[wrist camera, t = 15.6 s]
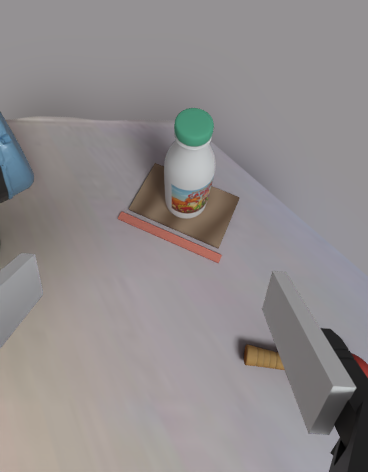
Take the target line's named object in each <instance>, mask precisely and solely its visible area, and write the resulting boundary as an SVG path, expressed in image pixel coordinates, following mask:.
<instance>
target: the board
mask: <svg viewBox="0 0 368 472" xmlns="http://www.w3.org/2000/svg"><path fill="white" fill-rule="evenodd" d="M238 200H239V197H237V196H234V195H232V194H229V193H227V192H225V191H222V190H220V189H217V188H215V187H212V186H211V189H210V193H209V196H208V200H207V203H206V206H205V208H204V210H203V211H202V213H200V214H199V215H198V216H196V217H193V218H188V219H185V218H180V217H177V216H175V215H174V214H172V213H171V212H170V211H169V209H168V208H167V205H166V200H165V184H164V167H163V166H161V165H158V164H156V163H155V164H154V166H153V168H152V169H151V171H150V173H149V175H148V176H147V178H146V180H145V181H144V183H143V185H142V187H141V188H140V190H139V192H138V194H137V195H136V197H135V199H134V201H133V202H132V204H131V206H130V207H129V210H130V211H133V212H135V213H137V214H140V215H142V216H144V217H147V218H149V219H151V220H153V221H156V222H158V223H160V224H163V225H165V226H167V227H170V228H172V229H174V230H176V231H179V232H181V233H183V234H186V235H188V236H190V237H193V238H195V239H197V240H200V241H202V242H204V243H206V244H209V245H211V246H213V247H216V248H219V246H220V244H221V241H222V239H223V236H224V234H225V232H226V229H227V227H228V224H229V222H230V220H231V217H232V215H233V212H234V210H235V208H236V205H237V203H238Z"/></svg>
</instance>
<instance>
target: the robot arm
mask: <svg viewBox="0 0 368 472" xmlns="http://www.w3.org/2000/svg"><path fill="white" fill-rule="evenodd" d="M33 181H34V174H33V171H32V169H31V167H30V165H29V163H28V160H27V159H26V157H25V155H24V153H23V151H22V149H21V147H20V145H19V143H18V142H17V140H16V138H15V136H14V134H13V133H12V131H11V129H10V127H9V126H8V124H7V122H6V120H5V119H4V117H3V116H2V114H1V112H0V203H1V202H4V201H6V200H8V199H12V198H13V196H15V195H16V194H18V193H20V192H22V191H24V190H25V189H27V188H29V187H30V186H31V185H32V183H33ZM42 295H43V290H42V285H41V280H40V275H39V271H38V266H37V261H36V256H35V254H28V253H20V254H19V255H18V256H17V257H16V258H14V259H13V260H12V261H11V262H10V263H9V264H7V265H6V266H5V267H4V268H3V269H1V270H0V348H1V347H2V346H3V344H4V343H5V342H6V341H7V339H8V338H9V337H10V336H11V334H12V333H13V332H14V331H15V329H16V328H17V327H18V326H19V324H20V323H21V322H22V320H23V319H24V318H25V317H26V315H27V314H28V313H29V312H30V310H31V309H32V308H33V307H34V305H35V304H36V303H37V302H38V300H39V299H40V298H41V297H42ZM262 310H263V313H264V316H265V318H266V321H267V324H268V326H269V329H270V332H271V334H272V337H273V340H274V342H275V345H276V348H277V350H278V353H279V356H280V358H281V361H282V364H283V366H284V369H285V372H286V374H287V377H288V380H289V382H290V385H291V388H292V390H293V393H294V396H295V398H296V401H297V404H298V406H299V409H300V412H301V414H302V417H303V420H304V422H305V425H306V428H307V430H308V433H309V434H323V435H329V434H330V432H331V431H332V429H333V427H334V425H335V427H336V430H337V432H338V434H339V436H340V438H339V440H338V442H337V443H336V445H335V446H334V448H333V450H332V451H331V454H332V455H333V459H332V463H331V466H330V470H329V472H368V378H367V376H366V375H365V373H364V372H363V370H362V369H361V367H360V366H359V364H358V363H357V361H356V360H354V357H353V355H352V354H351V352H350V351H348V348H347V346H346V345H345V343H344V342H343V340H342V339H341V338H340V337H339V336H338V335H337V334H336V333H334V332H333V331H332V330H331V329H323V328H320V327H319V325H318V324H317V322H316V320H315V319H314V317H313V315H312V314H311V312H310V311H309V309H308V307H307V306H306V304H305V302H304V301H303V299H302V297H301V296H300V294H299V293H298V291H297V289H296V288H295V286H294V284H293V283H292V281H291V279H290V278H289V276H288V275H287V273H286V272H278V271H272V275H271V278H270V282H269V286H268V289H267V293H266V297H265V300H264V304H263V308H262Z"/></svg>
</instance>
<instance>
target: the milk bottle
mask: <svg viewBox="0 0 368 472" xmlns="http://www.w3.org/2000/svg"><path fill="white" fill-rule="evenodd" d="M213 128H214V124H213V120H212V118H211V116H210V115H209V114H208V113H207V112H205V111H204V110H201V109H197V108H189V109H186V110H183V111H182V112H180V113H179V114H178V116H177V117H176V120H175V126H174V129H175V133H174V135H175V141H174V143H173V144H172V145H171V146H170V148H169V150H168V152H167V154H166V157H165V162H164V184H165V200H166V205H167V208H168V209H169V211H170V212H171V213H172V214H174V215H175V216H177V217H180V218H185V219H188V218H193V217H196V216H198V215H199V214H200V213H202V211H203V210H204V208H205V206H206V203H207V200H208V196H209V193H210V189H211V185H212V181H213V177H214V172H215V157H214V153H213V151H212V148H211V147H210V144H209V143H210V141H211V137H212V133H213Z"/></svg>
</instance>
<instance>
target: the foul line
mask: <svg viewBox="0 0 368 472" xmlns="http://www.w3.org/2000/svg"><path fill="white" fill-rule="evenodd" d="M118 219H119V220H121V221H124V222H126V223H128V224H130V225H133V226H135V227H137V228H139V229H142V230H144V231H146V232H149V233H151V234H153V235H155V236H158V237H160V238H162V239H164V240H167V241H169V242H171V243H174V244H176V245H178V246H180V247H183V248H185V249H187V250H189V251H192V252H194V253H196V254H199V255H201V256H203V257H205V258H208V259H210V260H212V261H214V262H217V263H219V261H220V258H221V256H222V255H220V254H218V253H216V252H213V251H211V250H209V249H206V248H204V247H202V246H200V245H197V244H195V243H193V242H190V241H188V240H186V239H184V238H181V237H179V236H177V235H174V234H172V233H170V232H167V231H165V230H163V229H161V228H158V227H156V226H154V225H151V224H149V223H147V222H145V221H142V220H140V219H138V218H135V217H133V216H131V215H128V214H126V213H124V212H121V213H120V215H119V217H118Z"/></svg>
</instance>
